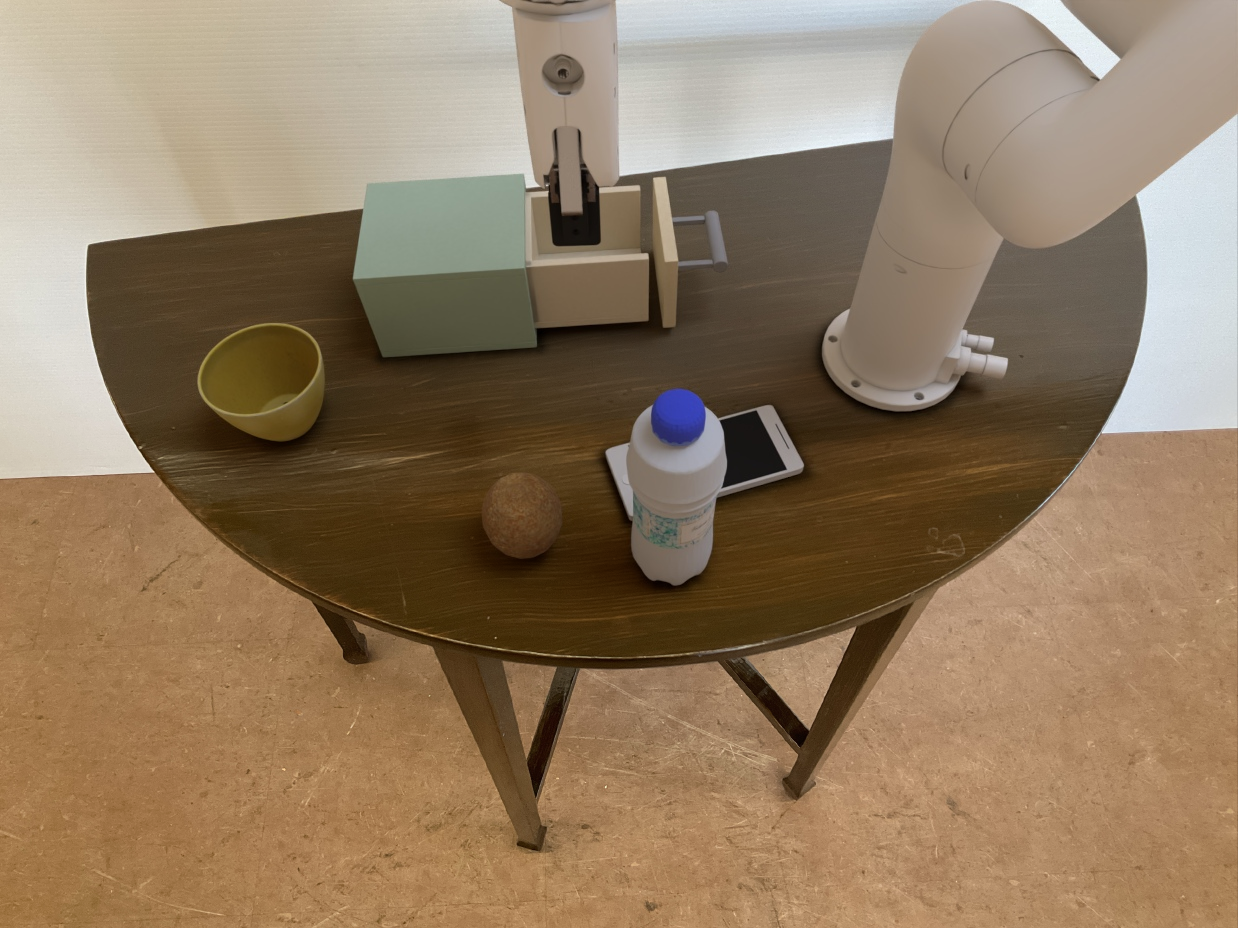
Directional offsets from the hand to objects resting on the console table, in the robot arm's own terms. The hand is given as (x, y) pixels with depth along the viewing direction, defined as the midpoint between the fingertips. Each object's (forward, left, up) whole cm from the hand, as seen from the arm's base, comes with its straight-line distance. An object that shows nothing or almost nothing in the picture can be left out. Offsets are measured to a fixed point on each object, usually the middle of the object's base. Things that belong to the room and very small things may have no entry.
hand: (576, 237), depth 57 cm
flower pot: (+27, +6, -22) cm, 35 cm away
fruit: (+2, +12, -22) cm, 25 cm away
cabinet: (+17, -12, -22) cm, 30 cm away
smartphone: (-10, +1, -22) cm, 24 cm away
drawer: (+2, -17, -21) cm, 27 cm away
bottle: (-10, +10, -22) cm, 26 cm away
